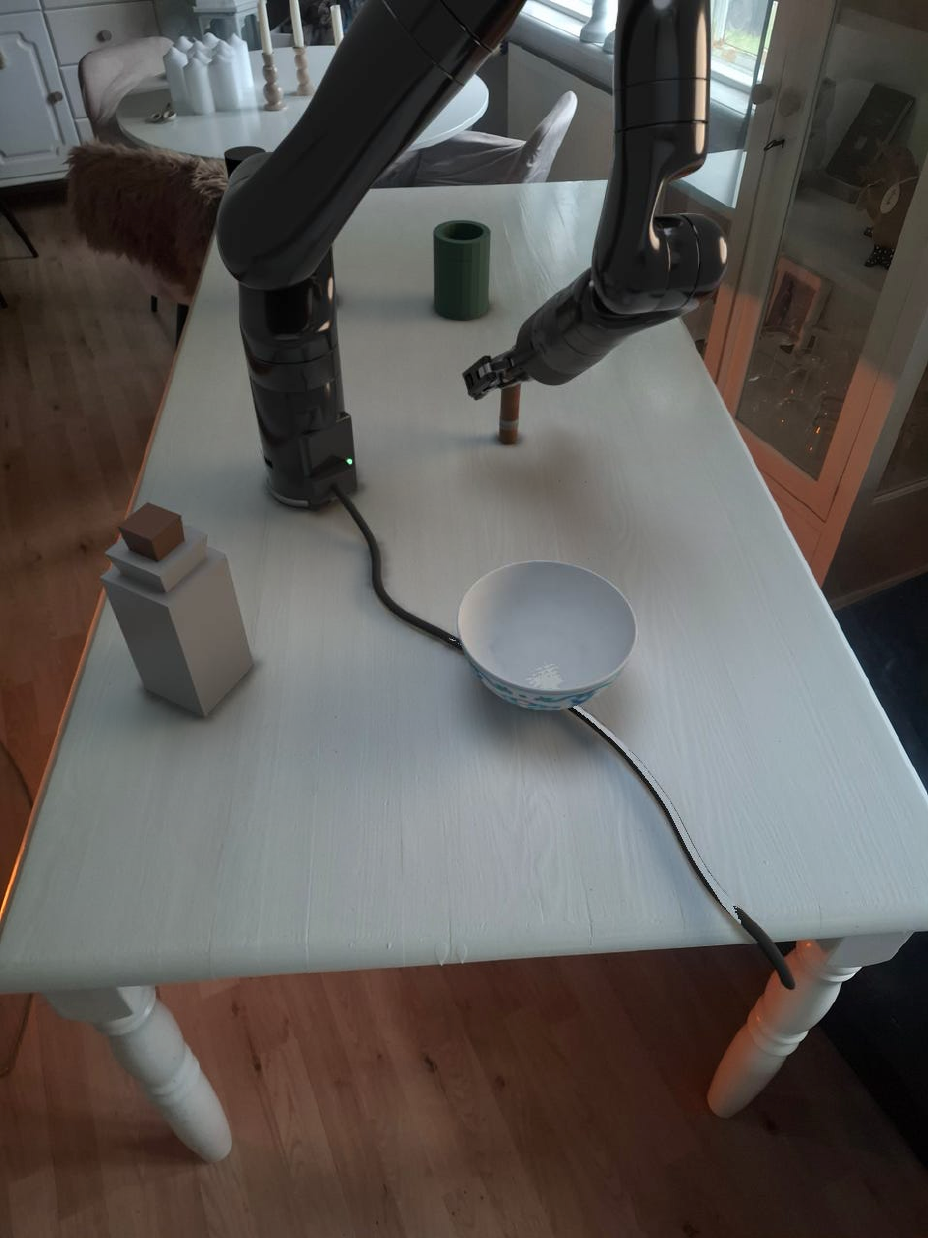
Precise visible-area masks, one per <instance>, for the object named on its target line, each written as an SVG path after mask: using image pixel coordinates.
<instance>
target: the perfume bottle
mask: <svg viewBox="0 0 928 1238" xmlns="http://www.w3.org/2000/svg"><path fill="white" fill-rule="evenodd" d="M117 529H118V531H119V533H120V535H121V539H119V540H118V541H117V542H116V543H115V544H113V545H112V546H110V548H108V550H106V551H104V555H105V556H106V557H107V558H108V560H110V562H111V563H112V564H113V565H112V567H110V568H109V569H108V570H106V572H105V573H103V574H102V575H101V576H99V579H100V581H101V584H102V587H103V588H104V591H105V593H106V596H107V598H108V602H109V604H110V606H111V608H112V611H113V614H114V616H115V619H116V621H117V623H118V626H119V628H120V632H121V633H122V636H123V638H124V641H125V643H126V646H127V648H128V651H129V653H130V656H131V658H132V661H133V663H134V666H135V668H136V670H137V673H138V675H139V678H140V681H141V683H142V686H143V688H144V689H145V690H147V691H149V692H151V693H153V694H156V695H157V696H160V697H161V698H164V699H165V700H167V701H170V702H172V703H174V704H176V705H178V706H180V707H183V708H184V709H186V710H188V711H191V712H193V713H195V714H197V715H198V716H201V717H203V718H206V717H207V716H208V715H209V714H210V713H211V712H212V711H213V710H214V709H215V707H216V706H217V705H219V703H220V702H221V701H222V700H223V699H224V698H225V697H226V696H227V695H228V694H229V692H231V690H232V689H233V688H234V687H235V686H236V685H237V684H238V683H239V681H240V680H241V679H243V677H244V676H245V675H246V674H247V673H248V672H249V671H250V670H251V669H252V668H253V667H254V661H253V657H252V654H251V653H252V652H251V649H250V644H249V641H248V637H247V633H246V629H245V625H244V621H243V617H242V613H241V609H240V605H239V600H238V597H237V593H236V589H235V586H234V582H233V581H234V580H233V577H232V573H231V569H230V564H229V561H228V558H227V554H226V553H224V552H223V551H220V550H217V549H215V548H213V547H210V546H209V545H208V537H209V536H208V533H205V532H203V531H201V530H198V529H196V528H193V527H191V526H188V525H186V524H183V520H182V514H179V513H176V512H174V511H171V510H169V509H167V508H163V507H161V506H158V505H156V504H153V503H151V502H148V501H146V502H145V504H143V505H141V507H139V508H138V509H137V510H136V511H135V512H133V513H132V514H130V516H128V517H127V518H126V519H124V520H123V521H122V522H120V523H119V524H118V525H117Z"/></svg>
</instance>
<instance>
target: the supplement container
mask: <svg viewBox="0 0 928 1238" xmlns="http://www.w3.org/2000/svg"><path fill="white" fill-rule="evenodd" d="M263 152H267V151H266V150H265V149H264V148H263V147H260V146H256V145H255V146H253V145H241V146H234V147H232V148H228V149H226V150H225V151H224V152H223V158H224V163H225V168H226V173H227V179H228V180H229V178H230V176H231V174H232V173H233V171H234V170H235V169H236V168H237V166H238V165H239V164H241V163H242V162H243V161H244V160H245V159H247V158H249V157H250V156H253V155H255V154H258V153H263ZM228 180H227V181H228Z"/></svg>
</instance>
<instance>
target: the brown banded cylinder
mask: <svg viewBox="0 0 928 1238" xmlns="http://www.w3.org/2000/svg"><path fill="white" fill-rule="evenodd" d="M505 372H506V371H505ZM506 375H507V379H508V380H509V381H510V380H512V379H514V377H512V376H510V375H508V374H507V373H506ZM521 387H522V383H520V384H518V385H516V386H513V387H511V388H509V389H500V407H499V417H498V440H499V442H500V443H502V444H505V445H511V444H514V443H516V442H517V440H518V434H519V433H518V431H519V423H520V404H521V403H520V402H521V389H522V388H521Z"/></svg>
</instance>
